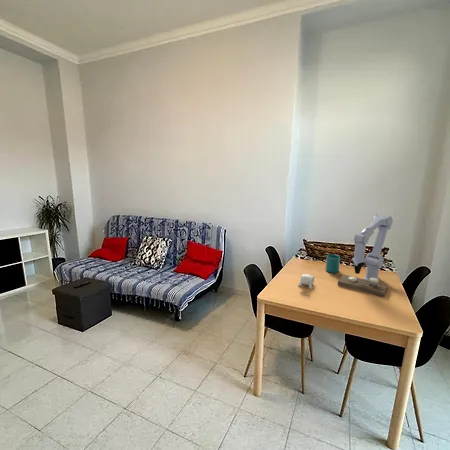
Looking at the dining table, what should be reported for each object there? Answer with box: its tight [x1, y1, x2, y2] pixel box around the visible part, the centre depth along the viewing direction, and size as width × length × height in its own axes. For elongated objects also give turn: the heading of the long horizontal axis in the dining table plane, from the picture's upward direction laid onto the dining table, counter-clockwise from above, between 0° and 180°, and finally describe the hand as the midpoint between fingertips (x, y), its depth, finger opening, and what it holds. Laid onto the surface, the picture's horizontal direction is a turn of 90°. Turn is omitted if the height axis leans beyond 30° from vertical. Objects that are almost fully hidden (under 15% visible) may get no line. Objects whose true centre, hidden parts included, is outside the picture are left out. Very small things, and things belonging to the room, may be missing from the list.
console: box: [337, 274, 389, 298], centre depth 170 cm, size 14×26×3 cm, turn 51°
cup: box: [325, 254, 341, 274], centre depth 197 cm, size 9×12×11 cm
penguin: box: [297, 273, 315, 290], centre depth 170 cm, size 8×8×15 cm
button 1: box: [348, 276, 358, 282], centre depth 173 cm, size 5×5×4 cm
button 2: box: [369, 278, 380, 287], centre depth 165 cm, size 5×5×4 cm
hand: (357, 273), depth 170 cm, fingers closed
